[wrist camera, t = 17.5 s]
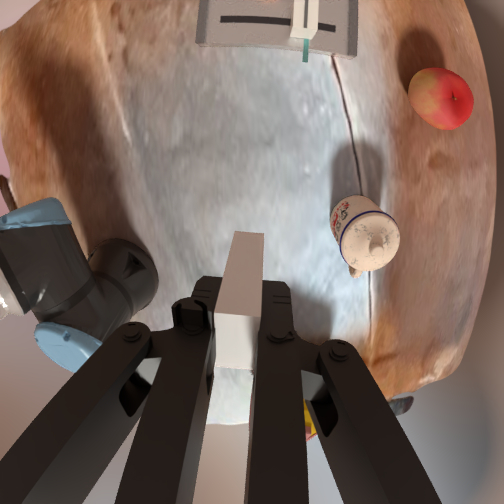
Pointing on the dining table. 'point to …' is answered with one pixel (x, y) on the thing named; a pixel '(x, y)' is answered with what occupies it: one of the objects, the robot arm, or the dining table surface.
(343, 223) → the teacup with lid
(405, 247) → the dining table surface
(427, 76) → the apple
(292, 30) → the fader
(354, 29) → the console
